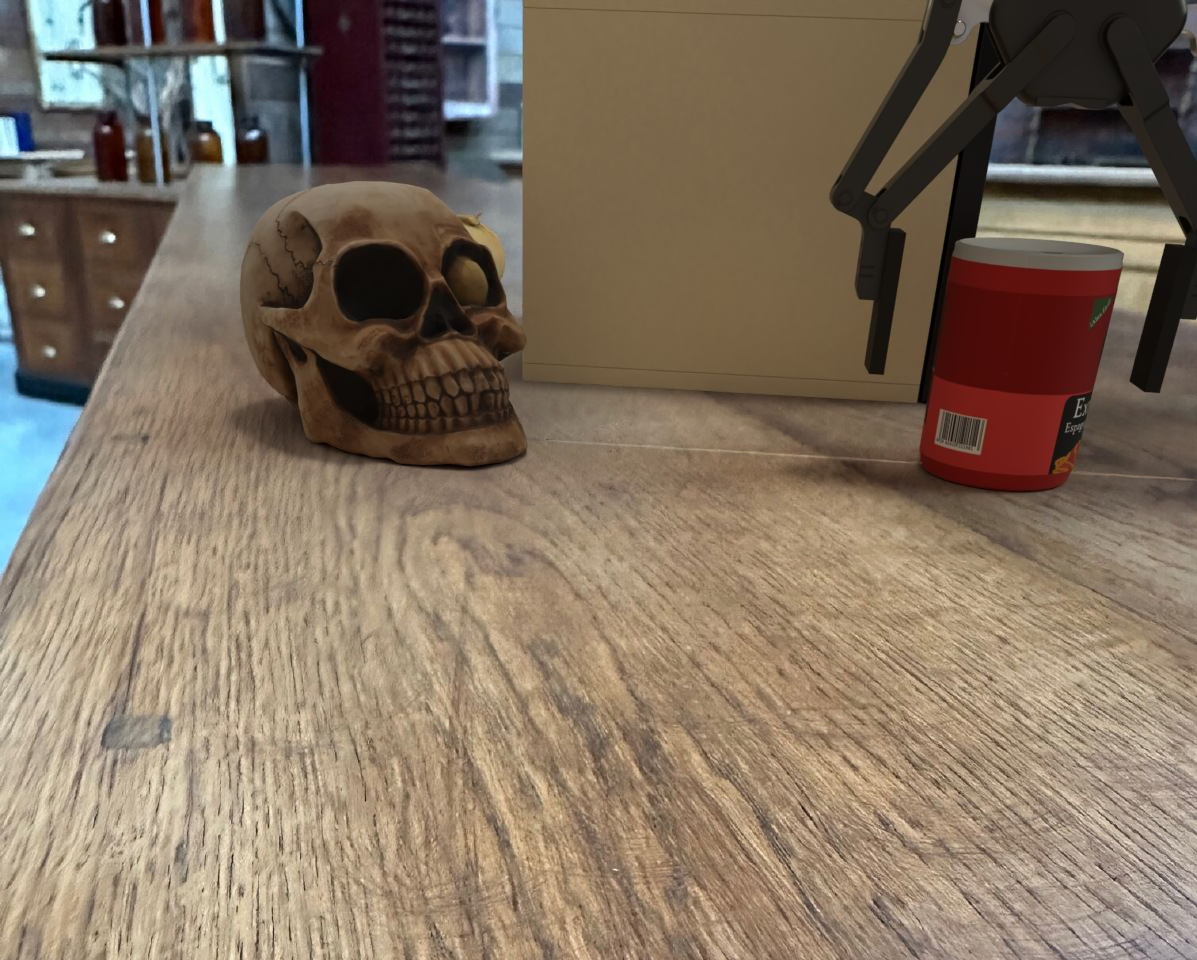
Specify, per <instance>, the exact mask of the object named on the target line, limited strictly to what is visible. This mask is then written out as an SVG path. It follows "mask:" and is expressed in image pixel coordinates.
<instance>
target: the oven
mask: <svg viewBox="0 0 1197 960" xmlns="http://www.w3.org/2000/svg"><path fill="white" fill-rule="evenodd" d="M521 1H522V160H521V161H522V170H521V171H522V172H521V173H522V174H521V175H522V178H521V179H522V181H521V182H522V193H521V194H522V195H521V197H522V207H521V208H522V210H521V211H522V214H521V215H522V218H521V219H522V221H521V222H522V234H521V235H522V241H521V242H522V245H521V246H522V248H521V249H522V251H521V252H522V253H521V255H522V261H521V262H522V269H521V271H522V273H521V274H522V275H521V276H522V277H521V279H522V280H521V283H522V285H521V286H522V289H521V290H522V291H521V292H522V293H521V294H522V296H521V297H522V299H521V300H522V301H521V302H522V303H521V305H522V311H521V312H522V313H521V315H522V316H521V317H522V318H521V319H522V321H521V322H522V325H521V327H522V329H523V331H524V333H525V335H526V339H527V344H526V346H525V348H524V349H523V350H521V351H522V359H521V360H522V367H521V369H522V375H521V376H522V381H525V382H526V381H527V382H544V383H548V382H549V383H559V384H560V383H562V384H564V383H565V384H580V385H595V384H599V385H598V386H615V387H629V388H630V387H631V388H632V387H633V388H647V389H648V388H650V389H665V388H666V390H667V389H668V390H681V391H682V390H683V391H684V390H685V391H699V392H700V391H701V392H702V391H703V392H719V393H738V394H753V395H771V396H787V397H788V396H789V397H807V398H826V399H841V400H857V401H858V400H862V401H876V402H893V403H909V404H910V403H911V404H917V403H918V400H919V397H918V393H919V387H920V386H919V385H920V381H921V375H922V369H923V363H924V357H925V352H926V346H927V340H928V334H929V328H930V322H931V316H932V310H933V304H934V298H935V292H936V286H937V280H938V274H939V268H940V262H941V256H942V250H943V244H944V238H945V232H946V226H947V220H948V214H949V208H950V202H951V196H952V190H953V184H954V178H955V172H956V166H957V160H958V155H957V156H956V157H955V158H954V159H953V160H952V161H951V162H950V163H949V164H948V165H947V166H946V167H945V168H944V169H943V170H942V171H941V172H940V173H939V174H938V175H937V176H936V177H935V178H934V179H933V181H932V182H931V183H930V184H929V185H928V186H927V187H926V188H925V189H924V190H923V191H922V192H921V193H920V194H919V195H918V196H917V197H916V198H915V199H914V200H913V201H912V202H911V203H910V204H909V205H908V206H907V207H906V208H905V209H904V210H903V212H902V213H901V214H900V215H899V216H898V217H897V218H896V219H895V220H894V221H893V222H892V223H891V228H900V229H902V230H903V231H904V232H906V239H905V246H904V252H903V258H902V264H901V271H900V277H899V283H898V289H897V296H896V302H895V308H894V314H893V321H892V327H891V333H890V339H889V346H888V352H887V358H886V364H885V371H884V375H876V374H869V373H868V371H867V369H866V367H865V365H864V362H865V355H866V349H867V342H868V335H869V329H870V322H871V316H872V309H873V302H874V300H859V298H858V297H857V294H856V290H855V285H854V284H855V277H856V270H857V263H858V256H859V249H860V242H861V235H862V229H861V225H860V223H859V221H858V220H856V219H855V218H853V217H851V216H849V215H847V214H844V213H842V212H840V211H838V210H837V209H835V208H834V206H833V205H832V204H831V202H830V199H829V193H830V191H831V188H832V186H833V185H834V183H835V181H836V180H837V178H838V176H839V175H840V173H841V171H842V170H843V168H844V166H845V164H846V163H847V161H848V159H849V158H850V156H851V154H852V153H853V151H854V149H855V148H856V146H857V144H858V142H859V141H860V139H861V137H862V136H863V134H864V132H865V131H866V129H867V127H868V125H869V124H870V122H871V120H872V119H873V117H874V115H875V114H876V112H877V110H878V109H879V107H880V105H881V103H882V102H883V100H884V98H885V97H886V95H887V93H888V92H889V90H890V88H891V86H892V85H893V83H894V81H895V80H896V78H897V76H898V75H899V73H900V71H901V70H902V68H903V66H904V64H905V63H906V61H907V59H908V58H909V56H910V54H911V53H912V51H913V49H914V47H915V46H916V44H917V41H918V37H919V33H920V29H921V25H922V21H923V17H924V13H925V9H926V5H927V1H928V0H521ZM979 28H980V23H979V24H977V25H976V26H974V28H973V29H972V30H971V32H970V34H969V36H968V38H967V39H966V40H965V41H964V42H963V43H961V44H959V45H956V46H949V48H948V50H947V53H946V55H945V57H944V59H943V61H942V63H941V65H940V66H939V68H938V70H937V72H936V73H935V75H934V76H933V78H932V80H931V81H930V83H929V85H928V86H927V88H926V90H925V91H924V93H923V95H922V96H921V98H920V100H919V101H918V103H917V105H916V106H915V108H914V110H913V111H912V113H911V115H910V116H909V118H908V119H907V121H906V123H905V124H904V126H903V128H902V129H901V131H900V133H899V134H898V136H897V138H896V139H895V141H894V143H893V144H892V146H891V148H890V149H889V151H888V153H887V154H886V156H885V158H884V159H883V161H882V162H881V164H880V166H879V167H878V169H877V171H876V172H875V174H874V176H873V177H872V179H871V181H870V182H869V184H868V186H867V187H866V189H865V191H866V192H868V193H870V194H872V195H874V196H875V195H876V194H877V193H878V192H879V190H880V189H881V188H882V187H883V186H884V185H885V184H886V183H887V182H888V181H889V180H890V179H891V178H892V177H893V176H894V175H895V174H896V173H897V172H898V170H899V169H900V168H901V167H902V166H903V165H904V164H905V163H906V162H907V161H908V160H909V159H910V158H911V157H912V156H913V155H914V154H915V153H916V151H917V150H918V149H919V148H920V147H921V146H922V145H923V144H924V143H925V142H926V141H927V140H928V139H929V138H930V137H931V136H932V135H933V134H934V132H935V131H936V130H937V129H938V128H939V127H940V126H941V125H942V124H943V123H944V122H945V121H946V120H947V119H948V118H949V117H950V116H951V115H952V114H953V112H954V111H955V110H956V109H957V108H958V107H959V106H960V105H961V104H962V103H963V102H964V101H965V100H966V99H967V98H968V94H969V88H970V82H971V76H972V70H973V64H974V58H975V52H976V46H977V40H978V34H979Z"/></svg>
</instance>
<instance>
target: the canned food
mask: <svg viewBox="0 0 1197 960" xmlns="http://www.w3.org/2000/svg"><path fill="white" fill-rule="evenodd" d="M1124 257H1125V253H1124V252H1123V251H1122V250H1120V249H1118V248H1114V247H1110V246H1105V245H1100V244H1092V243H1085V242H1076V241H1065V240H1055V239H1044V238H1043V239H1041V238H1026V237H1025V238H1023V237H996V236H995V237H994V236H993V237H992V236H991V237H976V238H967V239H962V240H959V241H957V242H956V243H955V249H954V252H953V254H952V258H951V264H950V270H949V275H948V279H947V285H946V291H945V297H944V303H943V309H942V315H941V321H940V327H939V333H938V339H937V345H936V351H935V357H934V363H933V369H932V375H931V381H930V387H929V393H928V399H927V402H926V404H925V405H926V406H925V410H924V411H925V412H924V418H923V423H922V429H921V436H920V442H919V447H918V448H919V455H920V456H919V457H920V464H921V466H922V468H923V469H924V470H925V471H927V472H928V473H929V474H931V475H933V476H935V477H937V478H939V479H941V480H945V481H948V482H952V483H954V484H958V485H963V486H968V487H974V488H980V489H986V490H993V491H994V490H996V491H1007V492H1008V491H1009V492H1037V491H1038V492H1039V491H1045V490H1051V489H1055V488H1057V487H1059V486H1061V485H1064V483H1066V481H1067V480H1068V478H1069V477H1070V475H1071V473H1072V472H1073V470H1074V468H1075V466H1076V462H1077V457H1078V453H1079V449H1080V445H1081V442H1082V438H1083V433H1084V430H1085V425H1086V421H1087V416H1088V412H1089V408H1090V405H1091V400H1092V396H1093V392H1094V389H1095V384H1096V380H1097V376H1098V372H1099V368H1100V364H1101V360H1102V356H1103V352H1104V347H1105V344H1106V339H1107V335H1108V331H1109V327H1110V323H1111V319H1112V314H1113V311H1114V306H1115V303H1116V299H1117V295H1118V290H1119V289H1118V288H1119V284H1120V280H1121V276H1122V272H1123V267H1124V265H1123V261H1124Z"/></svg>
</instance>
